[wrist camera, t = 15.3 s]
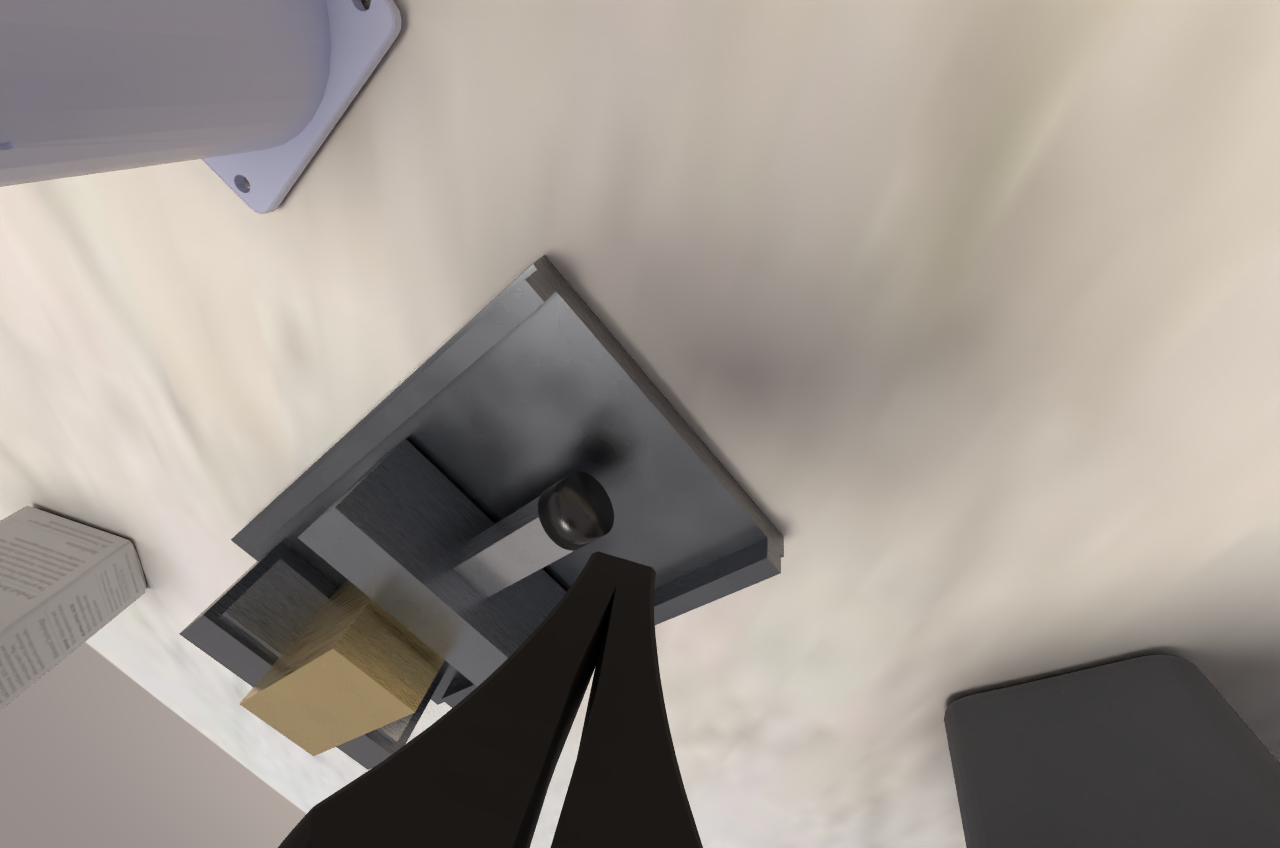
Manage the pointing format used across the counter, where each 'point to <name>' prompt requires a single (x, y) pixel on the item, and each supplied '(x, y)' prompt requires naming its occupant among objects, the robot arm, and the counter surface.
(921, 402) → the counter surface
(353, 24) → the robot arm
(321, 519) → the free jaw
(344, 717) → the brass block
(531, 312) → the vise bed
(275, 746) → the counter surface
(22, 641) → the skincare box
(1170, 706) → the storage bin
